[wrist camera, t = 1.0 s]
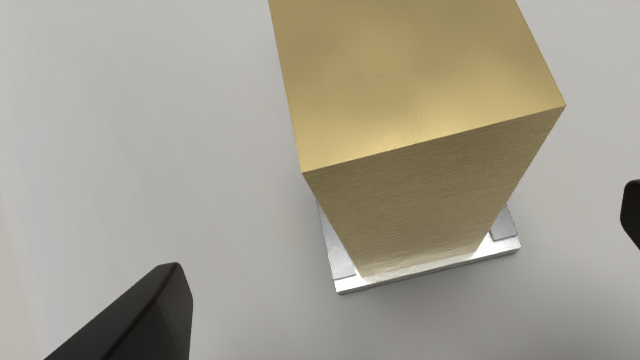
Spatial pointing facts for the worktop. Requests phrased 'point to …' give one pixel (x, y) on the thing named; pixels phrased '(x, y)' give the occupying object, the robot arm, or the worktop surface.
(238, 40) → the worktop surface
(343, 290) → the silver flat plate
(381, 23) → the brass block
